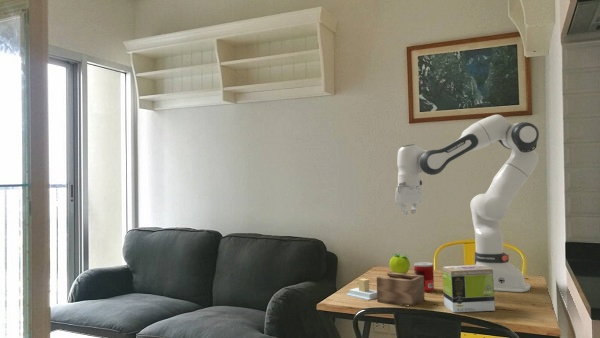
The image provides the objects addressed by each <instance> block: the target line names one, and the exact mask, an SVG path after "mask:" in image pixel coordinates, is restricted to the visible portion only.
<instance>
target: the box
mask: <svg viewBox="0 0 600 338" xmlns="http://www.w3.org/2000/svg"><path fill="white" fill-rule="evenodd" d="M376 291H377V298H376V299H377V300H376V302H377V303H383V304H391V305H396V304H402V305H401V306H403V305H409V306H408V307H410V306H412V307H414V306H416V305H418V304H420V303H421V302H423V301H425V292H424V276H422V275H415V274H411V273H406V274H403V273H394V272H393V271H391V272H388V273H387V277H386V276H377V277H376ZM419 302H420V303H419ZM417 303H418V304H417ZM415 304H416V305H415ZM413 305H414V306H413Z"/></svg>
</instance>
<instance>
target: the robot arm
mask: <svg viewBox="0 0 600 338" xmlns="http://www.w3.org/2000/svg"><path fill="white" fill-rule="evenodd" d="M539 134H540V133H539V129H538V128H537V126H536V125H535V124H533V123H531V122H528V121H527V122H525V121H522V122H515V123H511V124H510V123H509V122H508V121H507V119H506V118H505V117H504V116H503V115H501V114H492V115H490V116H487V117H485V118H482V119H480V120H478V121H476V122H474V123H472V124H470V126H468V127H467V128H466V129H464V130H463V131H462V133H461V134H460V137H459V138H458V139H457V140H455V141H453V142H451V143H449V144H448V145H446V146H444V147H442V148H439V149H431V150H426V149H424V148H422V147H419V146H418V145H417V144H414V143H412V144H407V145H402V146H401V147H400V148H398V150H397V156H396V157H397V159H396V161H397V162H396V163H397V169H398V173H397V187H396V189H395V194H394V195H395V200H394V201H395V204H396V205H397V206H398V205H399V208H400V210H401V215H402V216H407V215H408V211H407V205H411V209H410V213H411V214H412V215H413V214H417V207H418V203H421V202H422V199H423V186H424V185H423V184H424V182H423V180H422V179H420V175H419V174H420V173H421V174H426V175H430V176H431V175H432V176H433V175H434V176H435V175H438V174H441V172H442V171H443V170H444V169H445V168H446V167H447V165H448V164H449V163H450V162H452V161H453V160H456V159H457V158H460V157H462V156H463V155H464V154H466V153H469V152H475V151H478V150H481V149H483V148H486V147H487V146H489V145H492V144H493V143H495V142H497V141H498V142H499V143H500V144H501V146H503V147H504V148H506V149H508V150H511V153H510V156H509V157H508V159H507V160H506V161H505V163H504V164H503V165H502V166H501V168H500V169H499V170H498V171H497V173H496V174H495V175H494V176H493V178H492V181H491V183H490V186H489V187H488V189H487V190H486V192H485V193H479V194H477V195H475V196H474V197H473V198H471V201H470V203H469V207H470V211H471V217H472V224H473V228H474V239H475V252H474V265H483V266H485V267H488V268H490V269H493V281H494V291H498V292H511V293H525V292H528V291H530V289H531V284H529V283H526V282H525V277H524V274H523V272H522V270H520V269H518V268H517V267H516V266H515V265H513V264H512V263H510V261H509V260H510V259H509V257H510V254H507V253H505V252H504V235H503V231H502V228H501V223H500V220H502V219H503V218H505V217H506V215H507V214H508V212H509V208H510V206H511V205H512V203H513V200H514V198H515V196H516V195H517V193H518V192H519V190H520V189H521V188H522V187H523V185H524V184H525V182H526V181H528V179H529V177H530V176H531V175H532V173H534V170H535V169H536V166H537V164H538V163H539V159H540V158H539V155H538V153H537V151H535V150H536V148H537V144H538V140H539V137H540V136H539Z"/></svg>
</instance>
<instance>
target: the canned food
mask: <svg viewBox="0 0 600 338" xmlns="http://www.w3.org/2000/svg"><path fill="white" fill-rule="evenodd" d="M413 265H414V267H413V268H414V270H413V271H414V275H422V276H424V293H431V292H433V291H434V289H435V286H434V283H435V282H434V281H435V280H434V278H435V277H434V263H433V262H428V261H419V262H414V264H413Z"/></svg>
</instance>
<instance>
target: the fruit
mask: <svg viewBox="0 0 600 338" xmlns="http://www.w3.org/2000/svg"><path fill="white" fill-rule="evenodd" d="M408 257H409V256H408V255H406V254H405V255H400V253H399V254H398V253H393V256H392V257H391V258H390V260H389V268H390V269H391V272H393V273H403V274H408V272H409V270H410V268H411V263H410V260H409V258H408Z"/></svg>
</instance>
